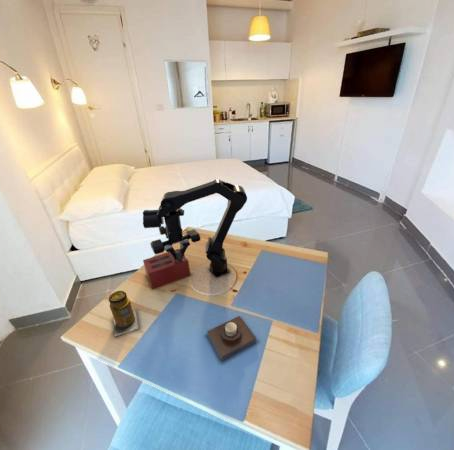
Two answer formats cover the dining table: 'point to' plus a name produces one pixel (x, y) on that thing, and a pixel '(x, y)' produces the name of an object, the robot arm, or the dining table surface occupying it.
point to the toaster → (165, 269)
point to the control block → (231, 338)
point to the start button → (230, 329)
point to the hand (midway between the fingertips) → (178, 258)
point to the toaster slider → (178, 255)
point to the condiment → (122, 313)
